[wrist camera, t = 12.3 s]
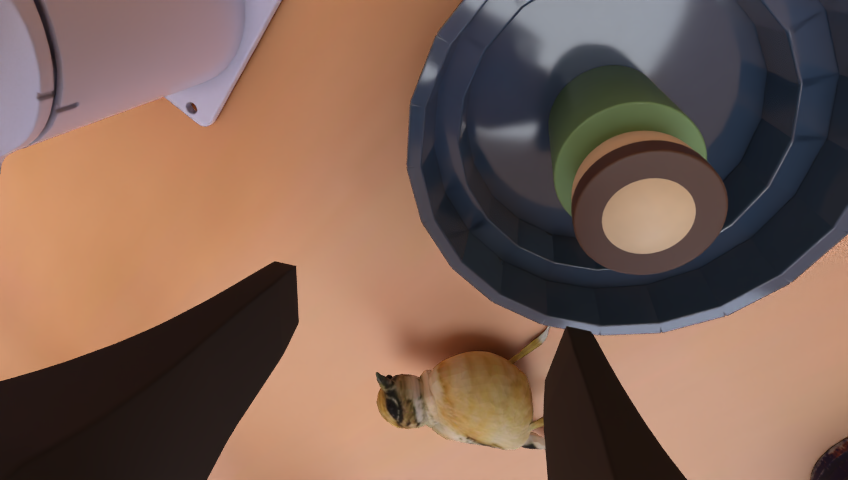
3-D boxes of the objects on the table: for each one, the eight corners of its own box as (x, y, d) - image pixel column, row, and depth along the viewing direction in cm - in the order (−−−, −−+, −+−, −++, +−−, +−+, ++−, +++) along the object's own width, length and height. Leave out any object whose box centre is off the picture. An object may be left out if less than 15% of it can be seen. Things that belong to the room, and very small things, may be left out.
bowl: (373, 123, 19) (330, 167, 15) (640, -210, 13) (694, -295, 8) (580, 305, 22) (591, 385, 18) (889, 110, 15) (1023, 165, 11)
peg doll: (526, 123, 17) (523, 222, 11) (613, 39, 15) (675, 98, 9) (595, 190, 18) (632, 321, 12) (687, 119, 16) (794, 228, 10)
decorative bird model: (575, 340, 19) (356, 418, 20) (620, 481, 26) (457, 532, 27) (541, 275, 22) (358, 345, 23) (589, 415, 29) (446, 463, 30)
